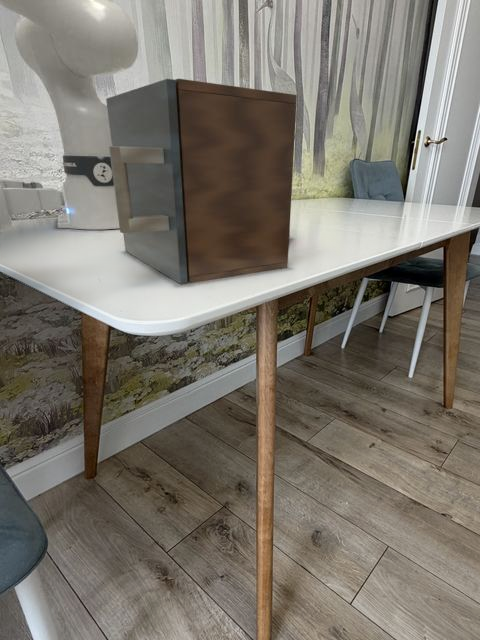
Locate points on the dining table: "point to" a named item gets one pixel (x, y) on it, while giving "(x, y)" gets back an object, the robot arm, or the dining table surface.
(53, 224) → the dining table surface
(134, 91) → the door
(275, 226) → the cupboard
